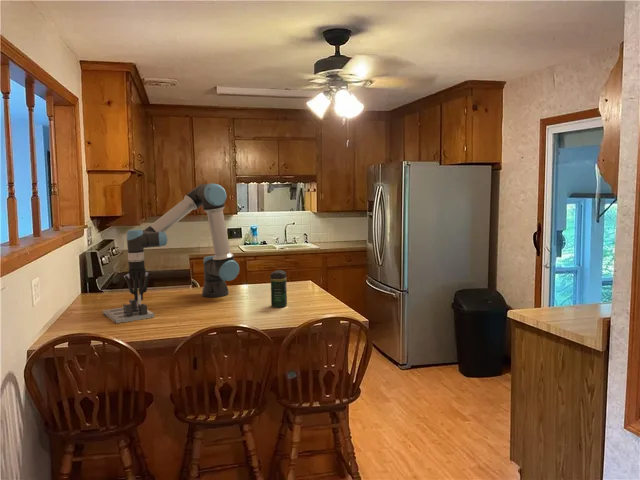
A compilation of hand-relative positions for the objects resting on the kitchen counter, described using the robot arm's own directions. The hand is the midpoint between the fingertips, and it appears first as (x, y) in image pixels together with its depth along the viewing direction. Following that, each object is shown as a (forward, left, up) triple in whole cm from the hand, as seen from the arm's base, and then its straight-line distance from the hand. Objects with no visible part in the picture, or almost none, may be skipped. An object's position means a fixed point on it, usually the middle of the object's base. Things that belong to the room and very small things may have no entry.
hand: (139, 306), depth 257 cm
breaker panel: (0, -6, -4) cm, 7 cm away
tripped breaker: (0, -6, -2) cm, 6 cm away
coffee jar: (+34, +62, -4) cm, 71 cm away
